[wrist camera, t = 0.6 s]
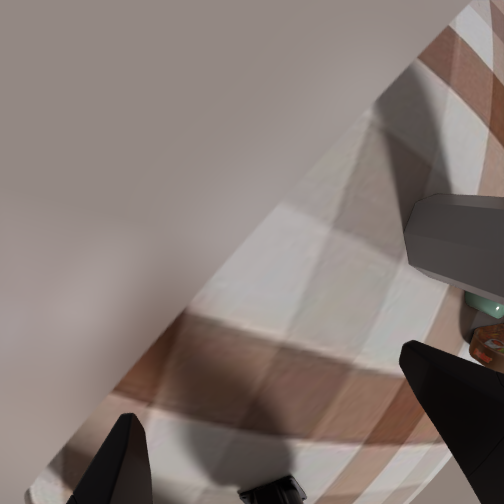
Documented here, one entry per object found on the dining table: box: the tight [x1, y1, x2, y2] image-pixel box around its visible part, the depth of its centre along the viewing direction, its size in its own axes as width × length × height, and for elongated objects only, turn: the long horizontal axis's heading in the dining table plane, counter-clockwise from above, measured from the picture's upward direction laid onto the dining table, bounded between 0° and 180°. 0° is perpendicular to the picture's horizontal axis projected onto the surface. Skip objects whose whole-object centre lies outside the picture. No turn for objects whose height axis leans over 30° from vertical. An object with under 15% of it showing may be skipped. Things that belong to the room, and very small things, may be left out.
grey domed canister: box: [404, 194, 504, 305], centre depth 19 cm, size 7×7×13 cm
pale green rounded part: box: [465, 291, 504, 319], centre depth 25 cm, size 4×4×4 cm
